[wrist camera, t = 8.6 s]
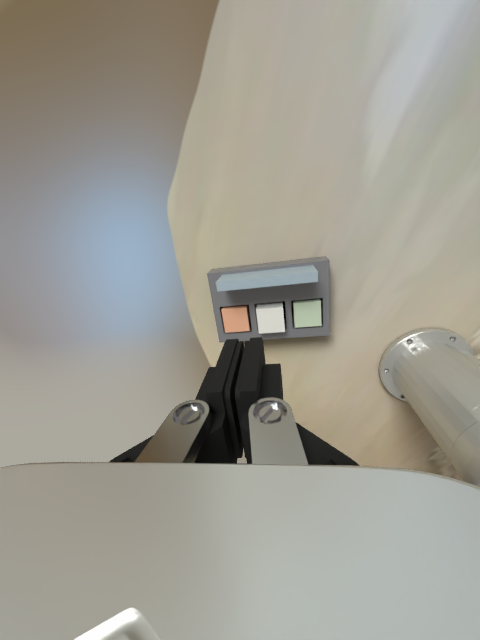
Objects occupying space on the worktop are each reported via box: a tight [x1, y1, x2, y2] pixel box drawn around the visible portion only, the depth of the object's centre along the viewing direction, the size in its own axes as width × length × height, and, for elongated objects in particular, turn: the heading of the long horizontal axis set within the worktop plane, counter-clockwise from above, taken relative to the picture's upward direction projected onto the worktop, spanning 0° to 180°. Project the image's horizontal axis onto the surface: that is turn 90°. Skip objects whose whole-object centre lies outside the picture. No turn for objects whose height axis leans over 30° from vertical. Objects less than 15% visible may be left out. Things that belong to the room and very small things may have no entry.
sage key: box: [292, 298, 322, 328], centre depth 37 cm, size 4×4×3 cm
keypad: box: [207, 257, 330, 342], centre depth 36 cm, size 16×10×7 cm, turn 98°
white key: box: [256, 301, 285, 334], centre depth 37 cm, size 4×4×3 cm
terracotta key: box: [221, 304, 251, 333], centre depth 39 cm, size 4×4×3 cm
